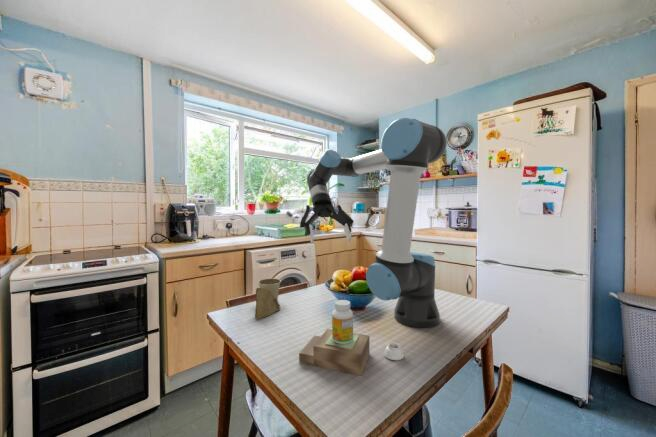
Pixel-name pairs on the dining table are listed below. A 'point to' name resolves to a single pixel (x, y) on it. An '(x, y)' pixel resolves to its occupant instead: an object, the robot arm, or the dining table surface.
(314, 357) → the step stand
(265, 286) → the flower pot
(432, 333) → the dining table surface
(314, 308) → the dining table surface
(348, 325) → the supplement bottle
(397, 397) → the dining table surface
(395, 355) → the lidless jar
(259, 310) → the rock
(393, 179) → the robot arm
